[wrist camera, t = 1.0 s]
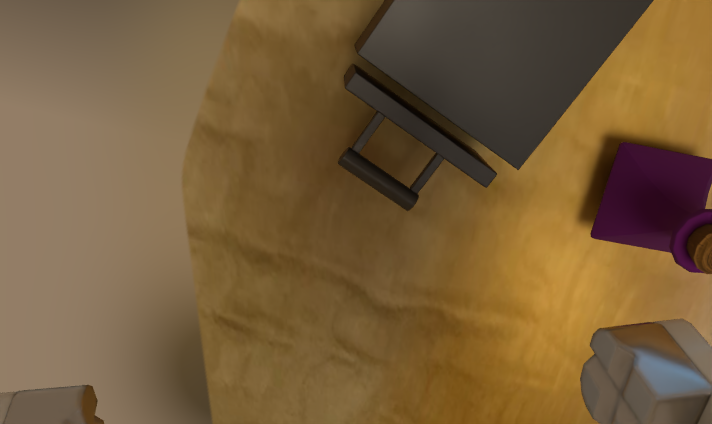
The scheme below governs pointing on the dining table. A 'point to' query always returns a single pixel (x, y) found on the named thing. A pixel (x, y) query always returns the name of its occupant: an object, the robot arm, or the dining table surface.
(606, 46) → the mini drawer unit
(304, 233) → the dining table surface
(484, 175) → the small file drawer box
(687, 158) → the purple potion bottle
